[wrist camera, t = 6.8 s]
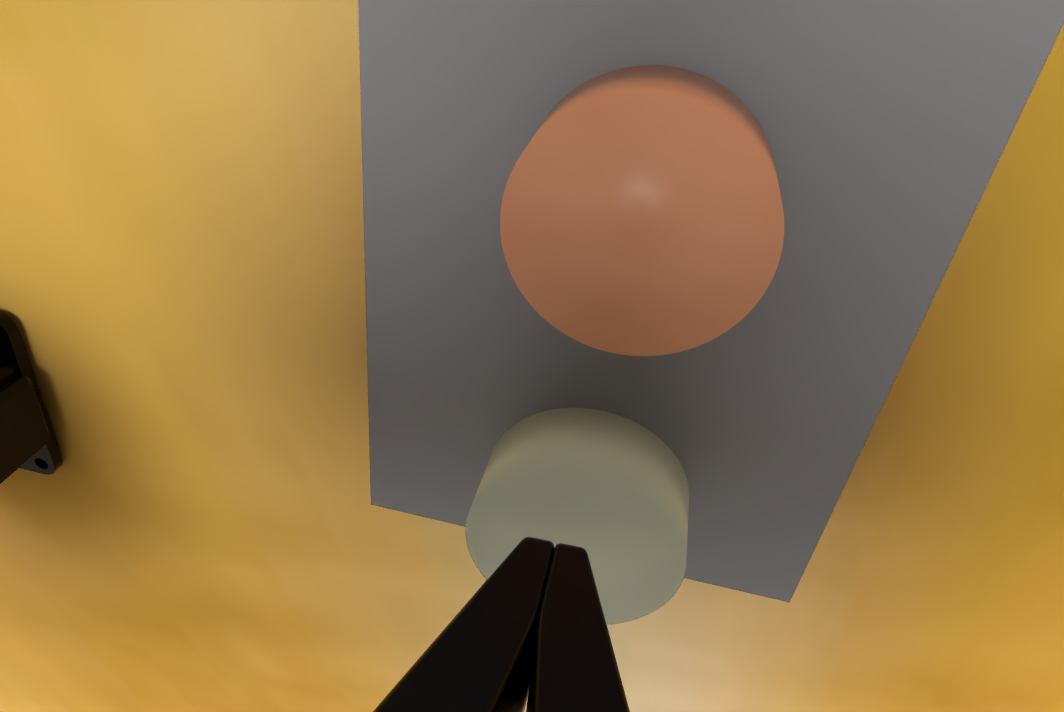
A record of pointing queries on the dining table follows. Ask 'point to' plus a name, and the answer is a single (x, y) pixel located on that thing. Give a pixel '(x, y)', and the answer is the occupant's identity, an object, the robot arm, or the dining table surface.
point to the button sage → (588, 504)
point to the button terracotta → (644, 212)
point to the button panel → (779, 316)
